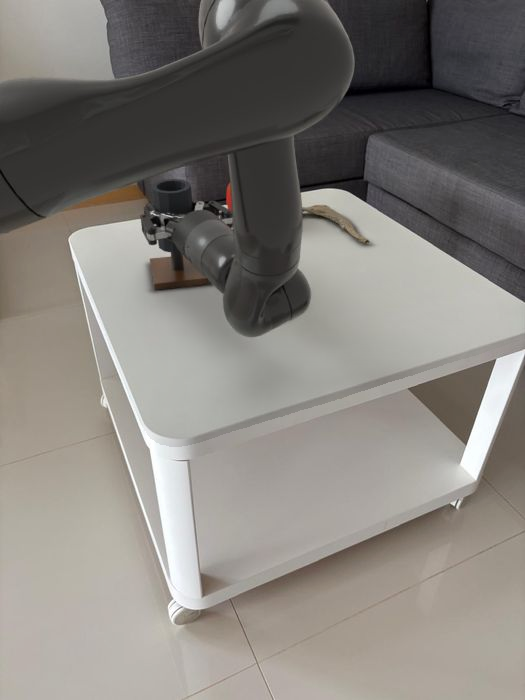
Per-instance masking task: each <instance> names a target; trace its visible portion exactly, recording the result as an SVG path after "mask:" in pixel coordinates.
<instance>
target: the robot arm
mask: <svg viewBox="0 0 525 700" xmlns="http://www.w3.org/2000/svg"><path fill="white" fill-rule="evenodd" d="M339 18H340V17H338V15H337V14H336V12H335V11H334V10H333V8H332V6H331V3H330V2H329V1H328V0H200V4H199V11H198V33H199V41H200V46H201V50H199V51H197V52H194V53H193V54H190V55H188V56H185V57H182V58H181V59H178V60H176V61H173V62H171V63H168V64H165V65H163V66H161V67H159V68H157V69H156V68H155V69H153V70H149V71H147V72H143V73H141V74H136V75H132V76H127V77H120V78H111V79H99V78H98V79H95V78H73V77H55V76H23V77H21V76H20V77H11V78H6V79H2V80H0V236H2V235H6V234H9V233H11V232H14V231H17V230H19V229H22V228H25V227H26V226H30V225H31V224H34V223H37V222H39V221H43V220H44V219H45V220H46V219H47V218H49V217H52V216H54V215H56V214H58V213H60V212H63V211H65V210H67V209H69V208H72V207H74V206H77V205H79V204H81V203H84V202H86V201H90V200H92V199H95V198H97V197H100V196H103V195H106V194H108V193H111V192H112V193H113V192H114V191H117V190H120V189H123V188H126V187H129V186H131V185H134V184H137V183H140V182H142V181H144V180H148V179H151V178H153V177H156V176H159V175H162V174H165V173H167V172H168V173H169V172H170V171H174V170H177V169H181V168H184V167H187V166H192V165H195V164H198V163H202V162H205V161H209V160H213V159H216V158H220V157H225V156H227V162H228V173H229V183H230V188H231V204H232V211H230V210H229V209H228V207H226V206H224V205H222V204H220V202H218V201H216V200H209V201H208V203H205V201H201V200H199V199H197V198H196V197H193V196H192V204H193V212H189V213H186V214H175V213H172V212H168V211H165V212H163V213H162V212H159V211H157V209H156V208H155V207H154V204H152V203H151V202H147V203H145V206H143V213H142V214H141V215H139V220H140V224H141V232H142V234H143V235H144V237H145V239H146V241H147V243H148V245H149V246H156V245H158V239H163V238H166V239H167V240H169V241H172V242H174V243H175V245H176V247H177V248H178V250H179V251H180V252H181V253H182V254H183V255H184V257H185V258H186V259H187V260H188V261H189V262H190V263H191V264H192V265H193V266H194V267H195V268H196V269H197V270H198V271H199V272H200V273H201V274H202V275H204V276H205V277H207V279H208V282H210V283H211V284H212V285H213V286H214V287H215V289H216V290H218V292H219V293H221V294H222V295H223V296H222V307H223V312H224V315H225V319H226V321H227V323H228V325H229V326H230V327H231V330H234V332H235V333H237V334H238V335H239V336H242V337H244V338H248V339H249V338H250V339H254V338H258V337H262V336H263V335H265V334H268V333H270V332H271V331H273V330H275V329H277V328H279V327H281V326H283V325H285V324H286V323H289V322H292V321H293V320H294V319H297V318H299V317H300V316H302V315H303V314H304V313H306V312H307V310H308V309H309V307H310V306H311V301H312V289H311V286H310V283H309V281H308V278H307V277H306V275H304V273H303V272H302V271H301V270H300V269H299V265H300V261H301V260H300V259H301V251H302V250H301V249H302V239H303V227H304V225H303V224H304V223H303V222H304V220H303V219H304V218H303V216H304V215H303V213H302V207H303V200H302V191H301V184H300V179H299V172H298V164H297V156H296V146H295V145H296V144H295V135H297V134H299V133H302V132H303V131H305V130H307V129H309V128H311V127H312V126H314V125H316V124H317V123H319V122H321V121H322V120H323V119H324V118H326V117H327V116H328V115H329V114H330V113H331V112H332V111H333V110H335V108H337V106H338V105H339V104H340V103H341V101H343V99H344V97H345V95H346V94H347V92H348V90H349V88H350V86H351V84H352V80H353V77H354V75H355V74H354V73H355V68H356V67H355V63H356V62H355V61H356V59H355V52H354V49H353V45H352V42H351V39H350V38H349V35H348V34H347V32H346V29H345V27H344V26H343V23H342V22H341V20H340V19H339ZM159 219H160V221H161V224H160V223H159ZM169 219H170V221H169Z"/></svg>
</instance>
